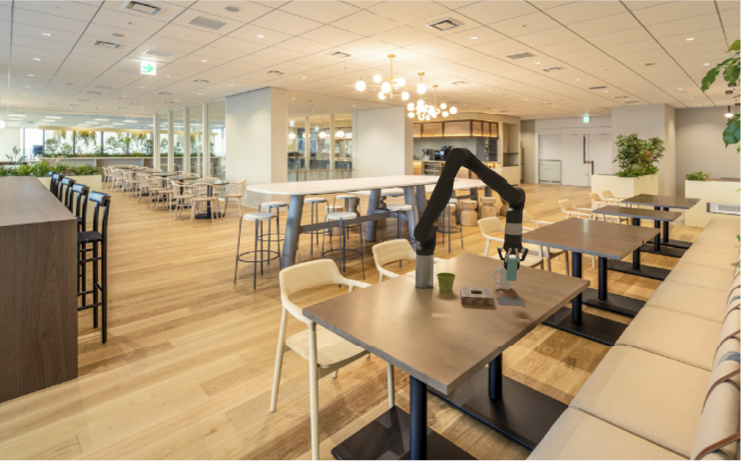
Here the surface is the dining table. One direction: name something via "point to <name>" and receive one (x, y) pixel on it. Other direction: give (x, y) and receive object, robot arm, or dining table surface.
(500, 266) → the mug
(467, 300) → the pocket block
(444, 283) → the plant pot
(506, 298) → the mat
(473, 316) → the dining table surface
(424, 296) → the dining table surface
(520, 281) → the dining table surface
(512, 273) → the peg
